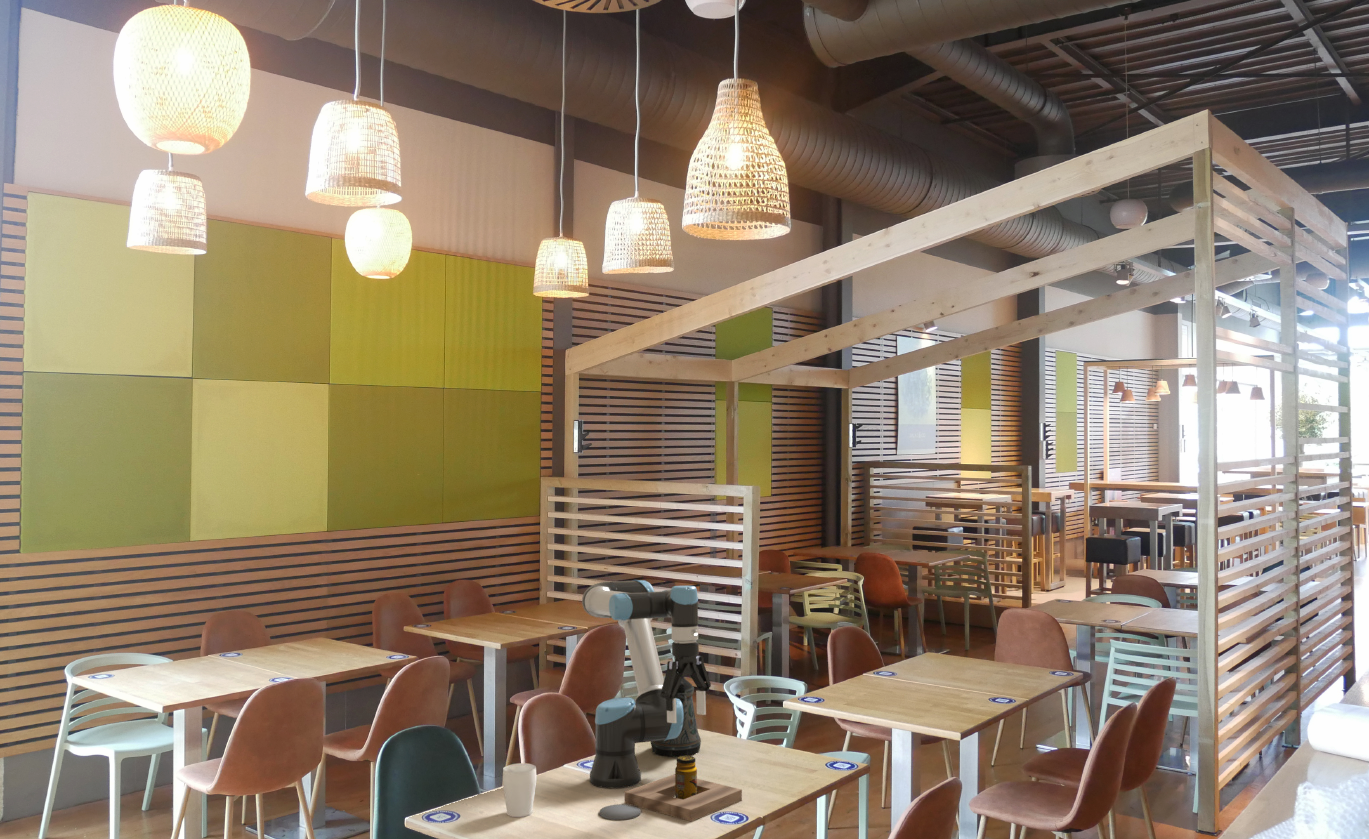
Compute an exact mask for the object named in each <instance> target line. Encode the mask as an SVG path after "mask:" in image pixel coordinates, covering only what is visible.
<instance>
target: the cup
mask: <svg viewBox="0 0 1369 839" xmlns="http://www.w3.org/2000/svg"><path fill="white" fill-rule="evenodd" d="M502 771H503V772H502V785H503V787H502V788H503V793H504V794H503V795H504V801H505V807H506V808H505V809H506V815H508V816H509V817H511V818H512V817H513V818H525V817H528V816H530V815H531V814H532V813H533V808H534V802H535V801H534V800H535V792H536V786H537V778H538V777H537V767H536V765H534V764H533V763H526V762H524V763H520V762H519V763H512V764H509V765H506V766H504V767H503V770H502Z"/></svg>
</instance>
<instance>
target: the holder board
mask: <svg viewBox="0 0 1369 839" xmlns="http://www.w3.org/2000/svg"><path fill="white" fill-rule="evenodd" d="M623 793H624V795H623V796H624V803H623V804H627V803H628V804H627V805H630V804H631V805H633V806H634V805H635V806H636V807H637V806H638V808H640V809H645V810H648V811H652V812H656V813H660V814H663V815H667V816H669V817H670V816H671V817H674V818H677V819H681V820H684V821H689V822H693V821H696V820H699V819H700V818H704V817H706V816H708V815H711V814H714V813H715V812H718V811H720V810H722V808H723V809H724V808H727V807H729V805H730V806H732V805H735V804H737V803H739V801H740V802H742V801H743V798H742V797H743V790H742V789H740V788H737V787H733V786H728V785H725V784H720V783H717V782H712V781H708V780H704V779H699V778H697V795H694V796H691V797H689V798H686V799H684V800H682V799H678V798H675V773H674V774H671V775H668V776H665V777H663V778H660V779H657V780H654V781H651V782H649V783H645V784H643V785H640V786H637V787H634V788H632V789H628V790H626V791H624V792H623Z"/></svg>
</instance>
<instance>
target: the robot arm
mask: <svg viewBox="0 0 1369 839" xmlns="http://www.w3.org/2000/svg"><path fill="white" fill-rule="evenodd" d="M698 603H699V597H698V589H697V587H696V586H695V585H674V586H672V587H671V589H666V590H662V591H661V590H660V591H655V590H654V587H653V585H652V583H650V582H649V581H647V580H644V579H643V580H641V579H640V580H639V579H633V580H620V581H619V580H617V581H615V580H614V581H601V582H597V583H594V584H592V585H591V586H589V587H588V588H587V589H586V590H585V591H584V593H583V596H582V600H581V604H582V608H583V610H584V611H585V612H586V613H587V614H588V615H589V616H592V617H595V618H601V619H612V620H613V621H617V622H618V623H617V624H618V625H619V627H622V628H623V629H624V634H625V638H626V643H627V647H628V652H629V655H630V656H629V657H630V661H631V667H632V670H633V675H634V679H635V683H636V688H637V692H638V694H637V696H636V697H635V699H634V698H632V697H616V698H611V699H608V700H604V701H602V702H601V703H599V704H598V705H597V707H596V709H595V719H594V723H595V756H594V759H593V763H592V766H591V770H590V772H589V783H590V784H591V785H593V786H596V787H598V788H599V787H600V788H605V789H621V788H623V789H624V788H628V786H629V787H632V786H633V787H634V786H635V785H638V784H640V783H641V781H642V778H641V777H642V774H641V769H640V768H639V764H638V760H637V756H636V744H639V743H649V742H650V743H651V741H661V740H664V741H666V740H668V739H674V738H677V737H678V736H679V734H680V733H681V730H682V726H683V705H682V702H681V701H680V699H677V698H674V696H675V694H676V692H677V689H678V687H679V685H680V682H681V680H682V678H685V677H687V676H688V675H689V676H690V677H691V680H692V681H693V683H694V685H695V686H696V688H697V689H696V691H695V692H696V693H695V694H696V695H695V696H696V697H695V698H696V699H695V701H696V714H697V715H701V716H706V715H707V707H706V706H707V705H706V704H707V702H706V701H707V692H709V691H710V688H711V687H712V686H711V685H712V684H711V681H710V678H709V675H708V672H707V669H706V667H705V666H706V665H705V661H704V656H701V655H699V653H700V651H699V649H700V648H699V644H700V643H699V642H698V640H699V604H698ZM661 618H671V640H672V641H673V642H672V643H671V655H672V656H673V657H674V661H670V660H668V661H667V663H666V671H665V676H664V674H663V671H662V667H661V663H660V662H661V661H660V658H659V653H658V650H657V645H656V641H655V637H654V633H653V627H652V623H651V622H652V620H653V619H661Z"/></svg>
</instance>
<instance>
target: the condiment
mask: <svg viewBox="0 0 1369 839" xmlns="http://www.w3.org/2000/svg"><path fill="white" fill-rule="evenodd" d="M674 772H675V773H674V774H675V796H674V797H675V798H678V799H682V800H684V799H686V798H689V797H691V796H694V795H697V779H698V768H697V766H696V757H695V756H694V755H691V756H679V757H676V766H675V769H674Z"/></svg>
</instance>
